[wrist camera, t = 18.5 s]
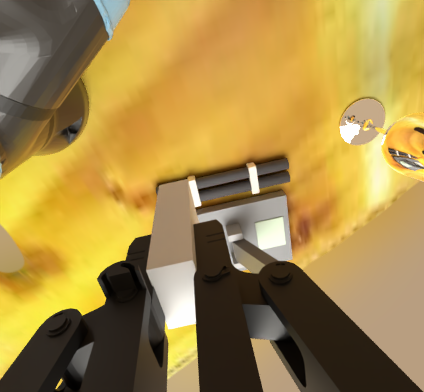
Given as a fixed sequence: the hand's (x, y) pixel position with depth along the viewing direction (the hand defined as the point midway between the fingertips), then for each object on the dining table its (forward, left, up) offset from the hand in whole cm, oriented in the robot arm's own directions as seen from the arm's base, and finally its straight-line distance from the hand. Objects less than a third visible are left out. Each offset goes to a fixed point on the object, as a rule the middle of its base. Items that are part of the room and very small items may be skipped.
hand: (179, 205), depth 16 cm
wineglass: (+28, -9, -33) cm, 44 cm away
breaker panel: (+4, -25, -32) cm, 41 cm away
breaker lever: (+4, -25, -28) cm, 38 cm away
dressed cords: (+4, -14, -32) cm, 36 cm away
